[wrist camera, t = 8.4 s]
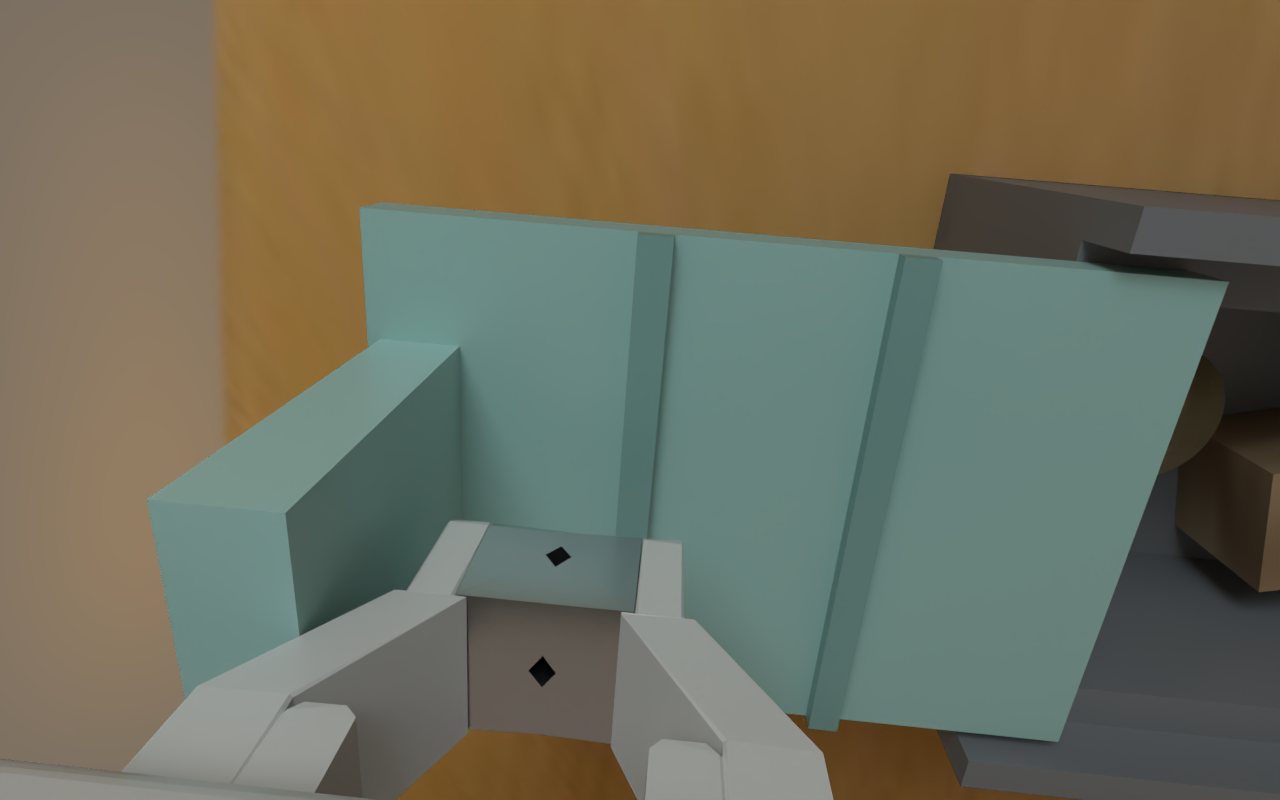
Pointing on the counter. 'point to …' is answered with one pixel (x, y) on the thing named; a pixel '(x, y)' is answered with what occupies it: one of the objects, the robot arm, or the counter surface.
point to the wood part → (1236, 496)
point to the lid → (723, 450)
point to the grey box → (1153, 521)
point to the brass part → (1196, 416)
